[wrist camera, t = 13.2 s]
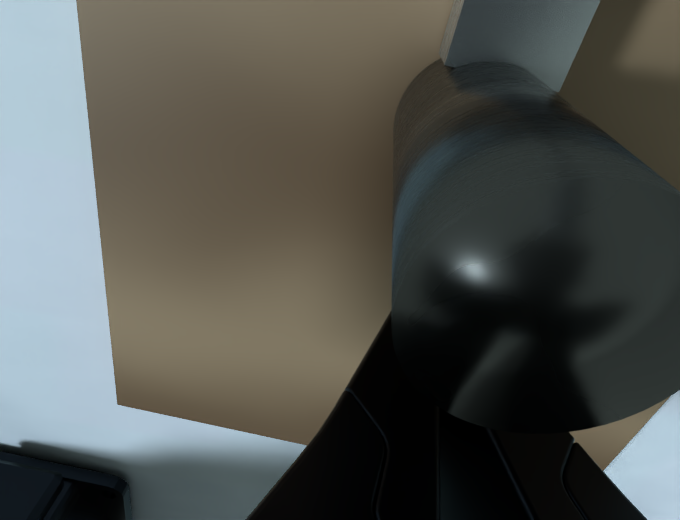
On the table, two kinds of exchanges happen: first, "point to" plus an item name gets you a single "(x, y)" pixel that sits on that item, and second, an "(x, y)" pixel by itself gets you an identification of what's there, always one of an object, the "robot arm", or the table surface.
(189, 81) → the wooden board with blocks
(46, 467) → the robot arm
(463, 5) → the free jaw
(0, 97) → the table surface
